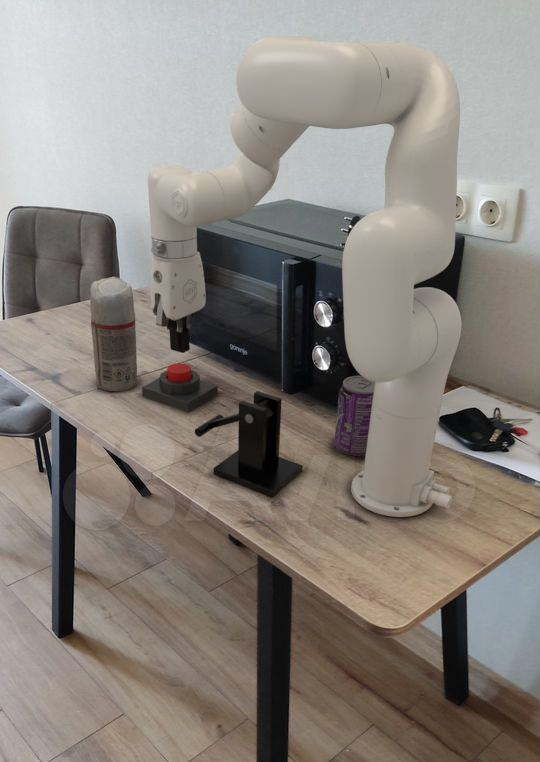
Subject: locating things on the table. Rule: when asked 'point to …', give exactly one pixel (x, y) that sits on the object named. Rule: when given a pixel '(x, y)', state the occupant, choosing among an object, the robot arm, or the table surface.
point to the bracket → (259, 450)
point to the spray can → (113, 334)
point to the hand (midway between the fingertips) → (180, 349)
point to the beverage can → (354, 415)
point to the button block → (180, 392)
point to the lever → (228, 419)
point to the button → (179, 372)
